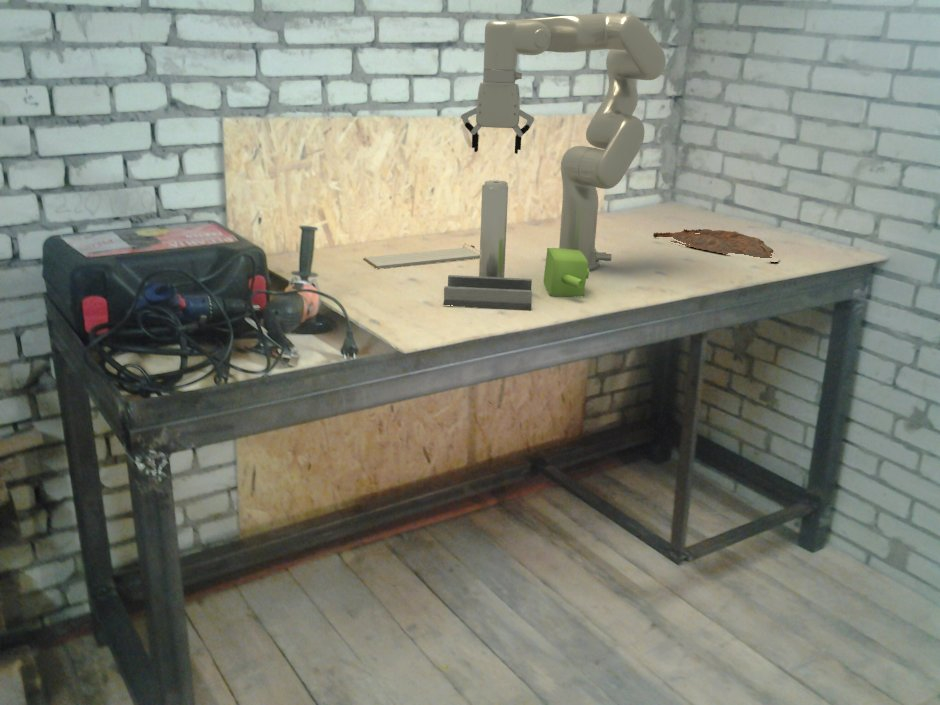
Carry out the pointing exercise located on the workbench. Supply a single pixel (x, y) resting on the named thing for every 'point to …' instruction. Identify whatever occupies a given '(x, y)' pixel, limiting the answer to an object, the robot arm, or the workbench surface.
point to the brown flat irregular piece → (721, 242)
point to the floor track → (488, 292)
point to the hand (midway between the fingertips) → (496, 152)
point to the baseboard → (421, 257)
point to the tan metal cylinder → (493, 228)
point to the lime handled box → (565, 272)
